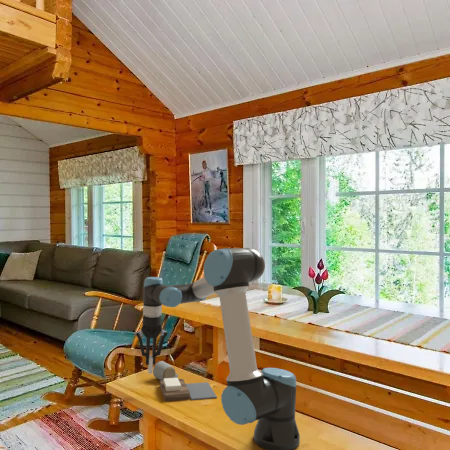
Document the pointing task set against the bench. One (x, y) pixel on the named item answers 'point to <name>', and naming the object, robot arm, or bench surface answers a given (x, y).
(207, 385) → the mat
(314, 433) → the bench surface
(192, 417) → the bench surface
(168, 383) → the white rectangular block
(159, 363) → the ceramic mug
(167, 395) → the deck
